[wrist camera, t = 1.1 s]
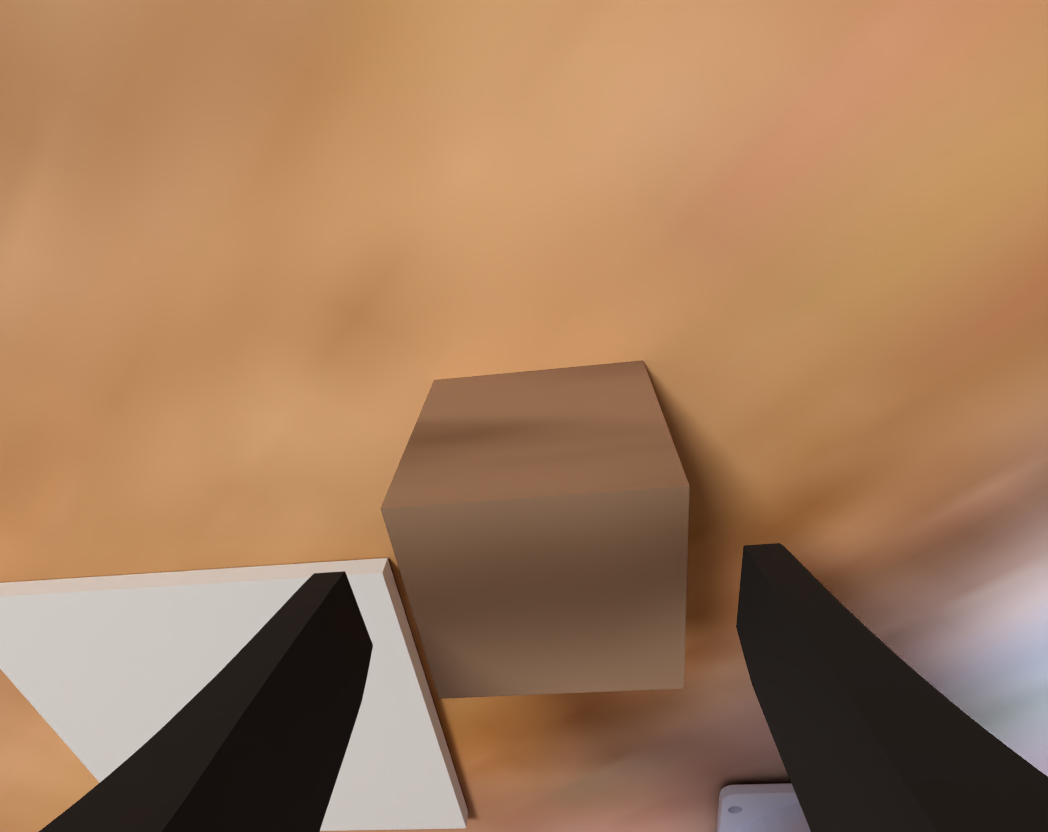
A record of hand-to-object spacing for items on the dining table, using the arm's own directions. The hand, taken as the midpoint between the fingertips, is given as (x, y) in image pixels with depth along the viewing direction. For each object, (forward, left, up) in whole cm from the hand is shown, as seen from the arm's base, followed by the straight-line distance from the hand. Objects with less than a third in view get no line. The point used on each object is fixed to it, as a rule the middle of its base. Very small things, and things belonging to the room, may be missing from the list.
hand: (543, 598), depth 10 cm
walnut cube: (0, 0, -5) cm, 5 cm away
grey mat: (-10, +12, -5) cm, 16 cm away
